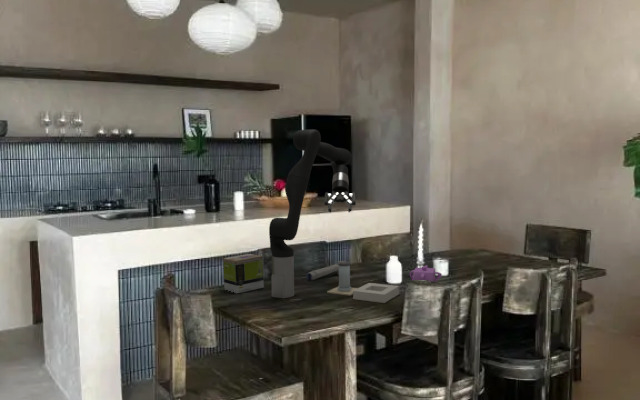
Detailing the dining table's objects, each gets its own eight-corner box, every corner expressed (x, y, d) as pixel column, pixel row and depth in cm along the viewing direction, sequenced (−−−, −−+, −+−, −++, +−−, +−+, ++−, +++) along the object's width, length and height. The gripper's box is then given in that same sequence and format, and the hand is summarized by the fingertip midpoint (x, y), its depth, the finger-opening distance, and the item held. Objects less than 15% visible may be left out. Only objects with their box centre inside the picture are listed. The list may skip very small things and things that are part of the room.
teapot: (412, 283, 277) (412, 261, 276) (443, 285, 273) (443, 263, 272) (407, 293, 260) (407, 269, 259) (440, 294, 256) (440, 271, 255)
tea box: (251, 284, 278) (250, 252, 277) (264, 288, 271) (263, 255, 270) (223, 290, 269) (222, 257, 267) (236, 294, 261) (235, 260, 260)
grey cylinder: (304, 271, 287) (341, 257, 303) (306, 285, 288) (343, 270, 304) (312, 273, 283) (349, 259, 299) (313, 287, 284) (350, 271, 301)
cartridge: (347, 292, 260) (347, 264, 259) (335, 290, 263) (334, 263, 262) (353, 289, 265) (353, 262, 264) (341, 287, 268) (341, 261, 267)
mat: (350, 295, 256) (350, 294, 256) (327, 292, 261) (327, 291, 261) (361, 290, 266) (361, 288, 266) (338, 287, 271) (338, 286, 271)
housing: (384, 303, 244) (384, 294, 243) (353, 299, 251) (353, 290, 250) (399, 294, 258) (399, 286, 257) (369, 290, 264) (368, 282, 264)
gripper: (324, 179, 281) (323, 206, 271) (355, 178, 280) (355, 206, 270) (325, 189, 287) (324, 216, 277) (355, 189, 286) (355, 216, 276)
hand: (339, 211), depth 273 cm, fingers open, 8 cm apart
